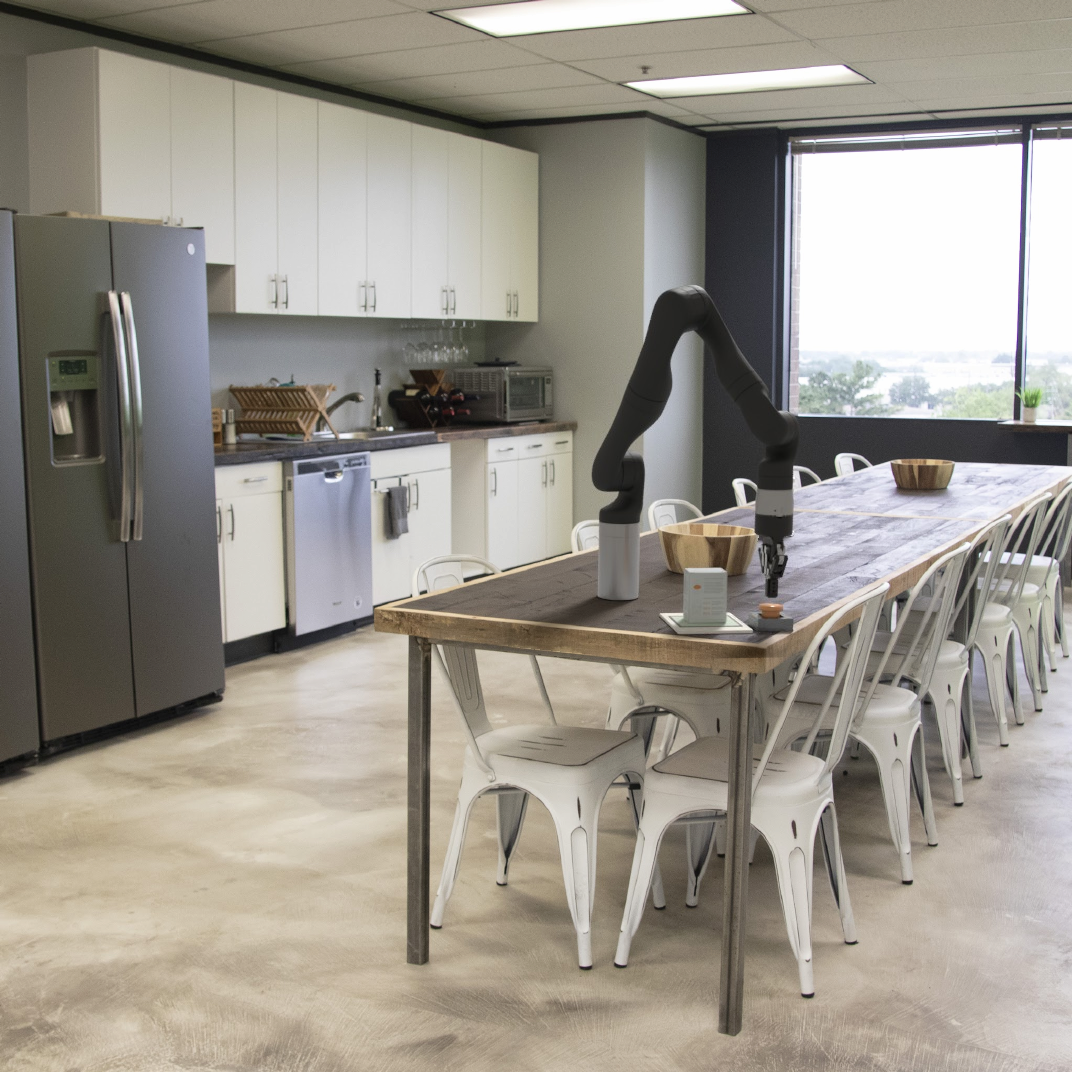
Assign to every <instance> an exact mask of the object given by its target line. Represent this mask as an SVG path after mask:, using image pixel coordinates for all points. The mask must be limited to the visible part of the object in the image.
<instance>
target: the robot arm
mask: <svg viewBox="0 0 1072 1072" xmlns="http://www.w3.org/2000/svg"><path fill="white" fill-rule="evenodd" d="M656 299H657V300H656V301H655V303H654V306H653V309H652V311H651V315H650V318H649V319H650V320H649V323H648V325H647V326H648V327H647V330H646V334H645V337H644V341H643V344H642V347H641V349H640V352H639V355H638V357H637V360H636V364H635V366H634V368H633V371H632V373H631V375H630V378H629V379H628V383H627V385H626V387H625V390H624V393H623V396H622V398H621V402H620V405H619V407H618V409H617V412H616V414H615V416H614V419H613V421H612V423H611V425H610V428H609V430H608V432H607V434H606V436H605V437H604V439H603V441H602V443H601V445H600V447H599V448H598V451H597V452H596V455H595V457H594V461H593V463H592V467H591V482H592V485H593V486H594V488H595V489H596V490H598V491H600V492H605V493H616V492H618V494H617V497H616V498H615V499H614V500H613V501H612V502H610V503H609V504H607V505H605V506H603V507H601V508H600V509H599V512H598V554H597V555H598V556H597V557H598V559H597V560H598V561H597V562H598V563H597V564H598V566H597V597H598V598H599V599H603V600H611V601H630V600H636V599H637V598H639V589H640V587H639V584H640V583H639V582H640V546H641V545H640V544H641V543H640V541H641V540H640V538H641V536H640V535H641V514H642V511H643V509H644V507H643V506H644V492H645V491H644V490H645V482H646V481H645V480H646V469H645V468H646V466H645V462H644V458H643V456H642V454H641V453H640V452H639V451H637V450H633V449H629V448H630V447H631V446H632V444H633V443H634V442H635V441H636V440H637V439H638V438H639V437H641V436H642V435H643V434H644V433H646V431H647V430H649V429H650V428H651V427H653V425H655V423H656V422H657V421H658V420H659V419H660V418H661V416H662V415H663V413H664V410H665V408H666V406H667V403H668V400H669V399H670V397H671V393H672V391H673V384H674V383H673V373H672V372H673V371H672V366H671V364H672V363H671V362H672V358H673V354H674V352H675V350H676V347H677V345H678V343H679V341H680V339H681V337H682V336H683V335H684V334H686V333H689V332H692V331H693V332H695V334H697V335H698V337H700V339H702V341H703V342H704V343H705V345H706V346H707V348H708V350H709V353H710V355H711V357H712V358H711V359H712V361H713V366H714V371H715V373H716V378H717V380H718V382H719V384H720V386H721V387H722V389H723V390H724V391H725V392H726V394H727V395H728V396H729V398H730V399H731V401H732V402H733V403H734V405H735V406H736V407H737V408H738V409H739V411H740V412H741V416H742V418H743V420H744V421H745V423H746V425H747V428H748V430H749V431H750V434H752V436H753V437H754V438H755V440H757V441H758V442H759V443H760V444H761V445H763V446H765V451H764V457H763V458H762V460H760V462H759V463H758V466H757V477H756V480H757V482H756V494H755V501H754V502H755V505H754V534H755V535H757V536H759V537H763V538H762V541H761V542H762V543H761V544H760V546H759V547H758V549H757V551H758V558H759V563H760V564H759V565H760V568H761V573H762V574H763V577H764V578H765V582H764V583H765V585H764V586H765V588H764V589H765V590H764V597H766V598H768V599H776V598H778V596H779V580H781V579H782V578H783V577H784V574H785V571H786V570H785V569H786V567H787V563H788V561H789V556H788V555H787V554H786V546H785V542H784V539H785V538H789V537H788V536H791V535H792V533H793V531H794V492H793V490H794V483H793V477H794V465H795V462H796V458H797V452H798V448H799V444H800V443H799V442H800V437H801V436H800V435H801V431H800V423H799V421H798V419H797V417H796V416H795V415H794V414H793V413H792V412H790V411H788V410H778V409H777V408H776V407H775V405H774V404H773V402H772V401H771V399H770V390H769V388H768V386H767V385H766V384H765V381H763V380H762V378H761V377H760V375H759V374H758V373H757V372H756V370H755V369H754V368H753V366H752V365H751V364H750V362H749V361H748V360H747V358H746V357H745V355H743V353H742V352H741V349H740V348H739V347H738V345H737V343H736V341H735V340H734V338H733V336H732V335H731V332H730V330H729V329H728V327H727V325H726V324H725V322H724V321H725V320H724V319H723V318H722V316H721V314H720V312H719V310H718V308H717V307H716V304H715V303H714V301H713V299H712V298H711V296H710V294H708V293H707V291H706V290H705V289H704V288H703V287H702V286H699V285H696V284H688V285H683V286H678V287H673V288H670V289H667V290H665V291H664V292H662V293H661V294H659V296H658V297H657V298H656ZM785 536H786V537H785ZM780 578H781V579H780Z"/></svg>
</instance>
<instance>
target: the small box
mask: <svg viewBox="0 0 1072 1072" xmlns="http://www.w3.org/2000/svg"><path fill="white" fill-rule="evenodd" d="M682 600H683V601H682V602H683V603H682V604H683V609H682V613H683V618H684V619H685V620H686V621H687V622H688V623H726V620H727V612H728V611H727V609H728V608H727V606H728V605H727V604H728V603H727V602H728V601H727V600H728V571H726V570H725V569H723V568H722V567H687V568H686V567H685V568H683V599H682Z"/></svg>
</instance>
